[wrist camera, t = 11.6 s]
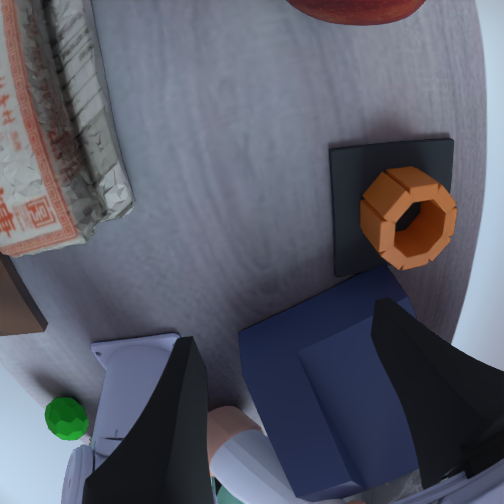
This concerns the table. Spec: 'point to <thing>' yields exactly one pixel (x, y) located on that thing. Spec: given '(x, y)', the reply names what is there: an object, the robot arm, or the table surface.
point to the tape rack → (17, 304)
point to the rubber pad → (360, 179)
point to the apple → (358, 10)
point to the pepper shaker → (248, 461)
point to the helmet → (391, 490)
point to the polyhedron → (66, 418)
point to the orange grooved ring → (394, 206)
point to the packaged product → (55, 129)
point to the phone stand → (330, 391)
